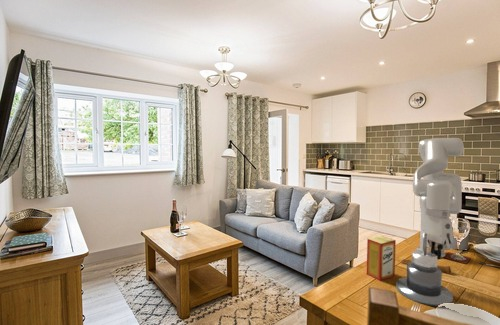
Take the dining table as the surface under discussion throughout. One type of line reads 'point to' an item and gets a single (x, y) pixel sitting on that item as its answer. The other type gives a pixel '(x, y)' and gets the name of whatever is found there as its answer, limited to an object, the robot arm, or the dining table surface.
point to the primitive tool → (442, 268)
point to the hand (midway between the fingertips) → (435, 258)
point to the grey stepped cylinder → (424, 287)
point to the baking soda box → (381, 257)
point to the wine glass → (462, 245)
